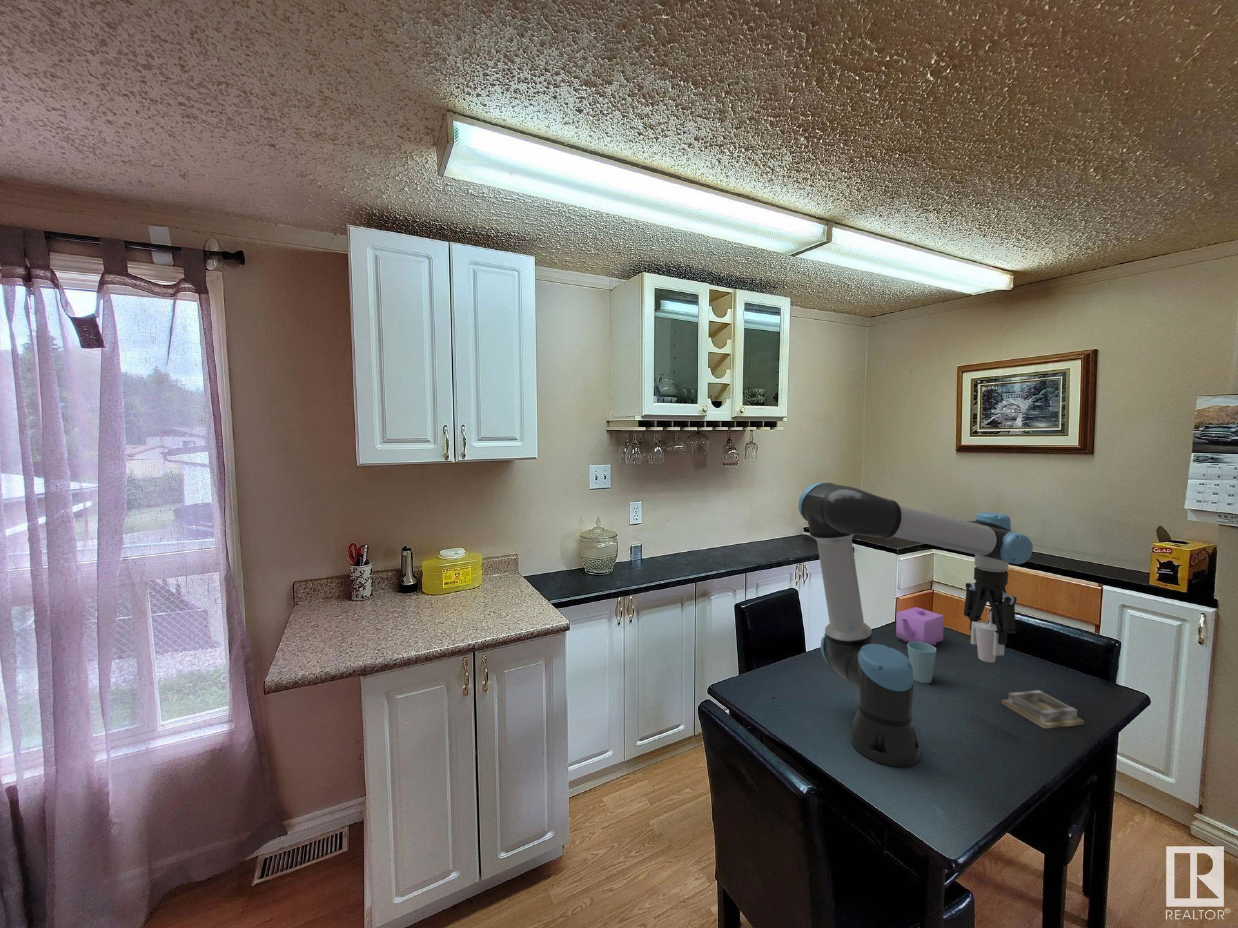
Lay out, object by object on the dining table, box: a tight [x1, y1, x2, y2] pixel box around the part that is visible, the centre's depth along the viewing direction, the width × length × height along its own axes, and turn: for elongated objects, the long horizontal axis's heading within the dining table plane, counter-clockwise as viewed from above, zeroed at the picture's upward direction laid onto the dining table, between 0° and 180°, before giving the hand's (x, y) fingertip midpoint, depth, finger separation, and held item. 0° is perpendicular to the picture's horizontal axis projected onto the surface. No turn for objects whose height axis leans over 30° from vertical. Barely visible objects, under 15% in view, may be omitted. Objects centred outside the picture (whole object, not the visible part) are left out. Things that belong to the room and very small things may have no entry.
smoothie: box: [974, 610, 997, 663], centre depth 135 cm, size 6×6×14 cm
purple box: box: [895, 606, 945, 646], centre depth 176 cm, size 20×10×12 cm, turn 117°
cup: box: [907, 642, 937, 684], centre depth 151 cm, size 8×8×10 cm
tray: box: [1001, 689, 1085, 729], centre depth 132 cm, size 12×12×4 cm
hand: (986, 648), depth 135 cm, fingers closed on smoothie, 6 cm apart
